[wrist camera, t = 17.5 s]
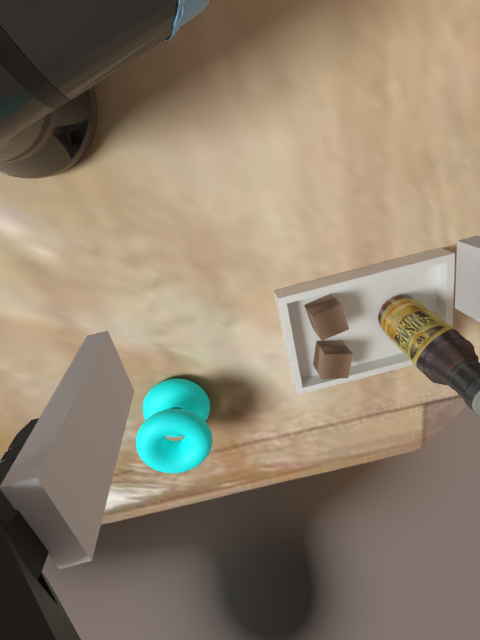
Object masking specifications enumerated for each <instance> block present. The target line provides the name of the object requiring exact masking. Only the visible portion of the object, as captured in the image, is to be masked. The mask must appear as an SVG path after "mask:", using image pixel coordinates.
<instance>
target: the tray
mask: <svg viewBox="0 0 480 640" xmlns="http://www.w3.org/2000/svg"><path fill="white" fill-rule="evenodd" d="M454 268H455V253H453V252H451V251H448V250H446V249H443V248H438V249H434V250H430V251H426V252H423V253H419V254H415V255H411V256H407V257H403V258H399V259H395V260H391V261H388V262H384V263H380V264H376V265H372V266H368V267H364V268H360V269H356V270H353V271H349V272H345V273H341V274H337V275H333V276H329V277H325V278H322V279H318V280H314V281H310V282H306V283H302V284H298V285H294V286H290V287H287V288H283V289H279V290H275V291H274V295H275V300H276V305H277V310H278V315H279V320H280V325H281V330H282V335H283V340H284V345H285V350H286V355H287V360H288V365H289V370H290V375H291V380H292V384H293V386H294V389H295V391H296V394H297V395H299V394H303V393H307V392H311V391H315V390H318V389H322V388H326V387H330V386H334V385H338V384H341V383H345V382H349V381H353V380H357V379H361V378H365V377H368V376H372V375H376V374H380V373H384V372H388V371H392V370H395V369H399V368H403V367H407V366H411V365H414V364H413V363H412V362H411V361H410V360H409V359H408V357H407V356H406V355H405V354H404V353H403V352H402V351H401V350H400V349H399V348H398V347H397V346H396V345H395V343H394V342H393V341H392V340H391V339H390V338H389V337H388V336H387V335H386V334H385V333H384V332H383V330H382V328H381V326H380V324H379V321H378V315H379V311H380V309H381V307H382V305H383V304H384V303H385V302H386V301H388V300H389V299H391V298H393V297H395V296H399V295H405V296H409V297H412V298H413V299H415V300H417V301H418V302H420V303H421V304H422V305H423V306H425V307H426V308H427V309H429V310H430V311H431V312H433V313H434V314H435V315H437V316H438V317H439V318H440V319H442V320H443V321H444V322H446V323H447V324H448V325H450V326H451V327H452V328H453V300H454ZM328 294H332V295H333V296H334V297H335V298H336V299H337V300H338V301H339V303H340V304H341V305H342V308H343V312H344V315H345V318H346V321H347V324H348V327H349V330H346V331H344V332H342V333H339V334H337V335H335V336H332V337H330V338H327V339H325V340H323V341H337V340H342V341H343V342H344V343H345V344H346V346H347V347H348V348H349V350H350V351H351V352H352V353H353V356H352V361H351V366H350V372H349V377H348V378H340V379H321V378H320V376H319V374H318V373H317V371H316V369H315V367H314V365H313V360H314V353H315V346H316V341H321V340H320V338H319V337H318V335H317V334H316V332H315V331H314V329H313V328H312V325H311V322H310V320H309V317H308V314H307V312H306V309H305V306H304V305H305V304H307V303H310V302H312V301H314V300H317V299H319V298H321V297H324V296H326V295H328Z"/></svg>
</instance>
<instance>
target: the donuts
mask: <svg viewBox="0 0 480 640" xmlns="http://www.w3.org/2000/svg"><path fill="white" fill-rule="evenodd" d="M174 407H179V408H182V409H171V408H174ZM209 413H210V401H209V398H208V396H207V394H206V392H205V391H204V390H203V389H202V388H201V387H200V386H199V385H197V384H196V383H194V382H192V381H189V380H185V379H169V380H166V381H163V382H161V383H159V384H157V385H155V386H154V387H153V388H152V389H151V390H150V391H149V392H148V394H147V395H146V397H145V399H144V403H143V415H144V418H145V420H146V421H145V422H144V423H143V424H142V425H141V427H140V429H139V431H138V433H137V438H136V447H137V451H138V454H139V456H140V457H141V459H142V460H143V461H144V462H145V463H146V464H147V465H148V466H150V467H151V468H153V469H155V470H158V471H161V472H165V473H180V472H185V471H188V470H190V469H193V468H195V467H196V466H198V465H199V464H201V463H202V462H203V461H204V460H205V458H206V457H207V456H208V454H209V452H210V450H211V446H212V433H211V430H210V428H209V426H208V424H207V423H206V420H207V419H208V416H209ZM165 436H169V437H182V436H185V437H184V438H183V439H182V440H179V441H170V440H168V439H167V438H166V437H165Z"/></svg>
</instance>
